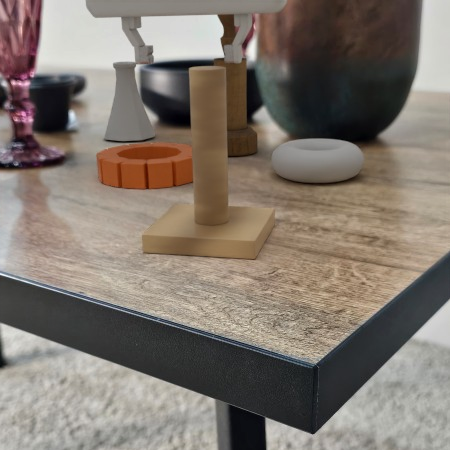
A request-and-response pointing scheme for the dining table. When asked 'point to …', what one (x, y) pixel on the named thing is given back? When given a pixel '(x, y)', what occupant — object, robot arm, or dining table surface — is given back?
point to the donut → (317, 160)
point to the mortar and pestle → (236, 97)
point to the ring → (146, 165)
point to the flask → (127, 108)
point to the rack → (209, 187)
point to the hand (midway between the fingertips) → (188, 63)
